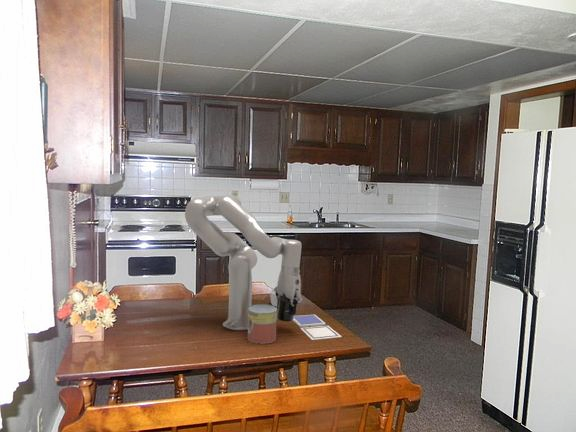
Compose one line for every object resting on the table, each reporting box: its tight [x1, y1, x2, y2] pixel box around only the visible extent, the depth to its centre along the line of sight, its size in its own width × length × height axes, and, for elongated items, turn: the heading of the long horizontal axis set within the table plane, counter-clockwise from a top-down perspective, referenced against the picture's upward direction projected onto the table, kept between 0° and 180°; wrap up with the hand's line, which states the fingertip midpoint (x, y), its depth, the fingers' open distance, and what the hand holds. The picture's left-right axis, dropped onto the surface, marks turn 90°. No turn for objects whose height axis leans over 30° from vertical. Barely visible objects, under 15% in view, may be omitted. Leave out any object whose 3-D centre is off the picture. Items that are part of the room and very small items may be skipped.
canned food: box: [246, 303, 278, 345], centre depth 170 cm, size 11×11×12 cm
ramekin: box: [269, 288, 278, 308], centre depth 214 cm, size 13×13×7 cm
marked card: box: [299, 325, 342, 341], centre depth 178 cm, size 13×13×1 cm
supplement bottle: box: [277, 293, 295, 323], centre depth 179 cm, size 7×7×12 cm
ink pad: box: [292, 314, 327, 328], centre depth 191 cm, size 12×12×1 cm
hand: (286, 311), depth 179 cm, fingers closed on supplement bottle, 6 cm apart
